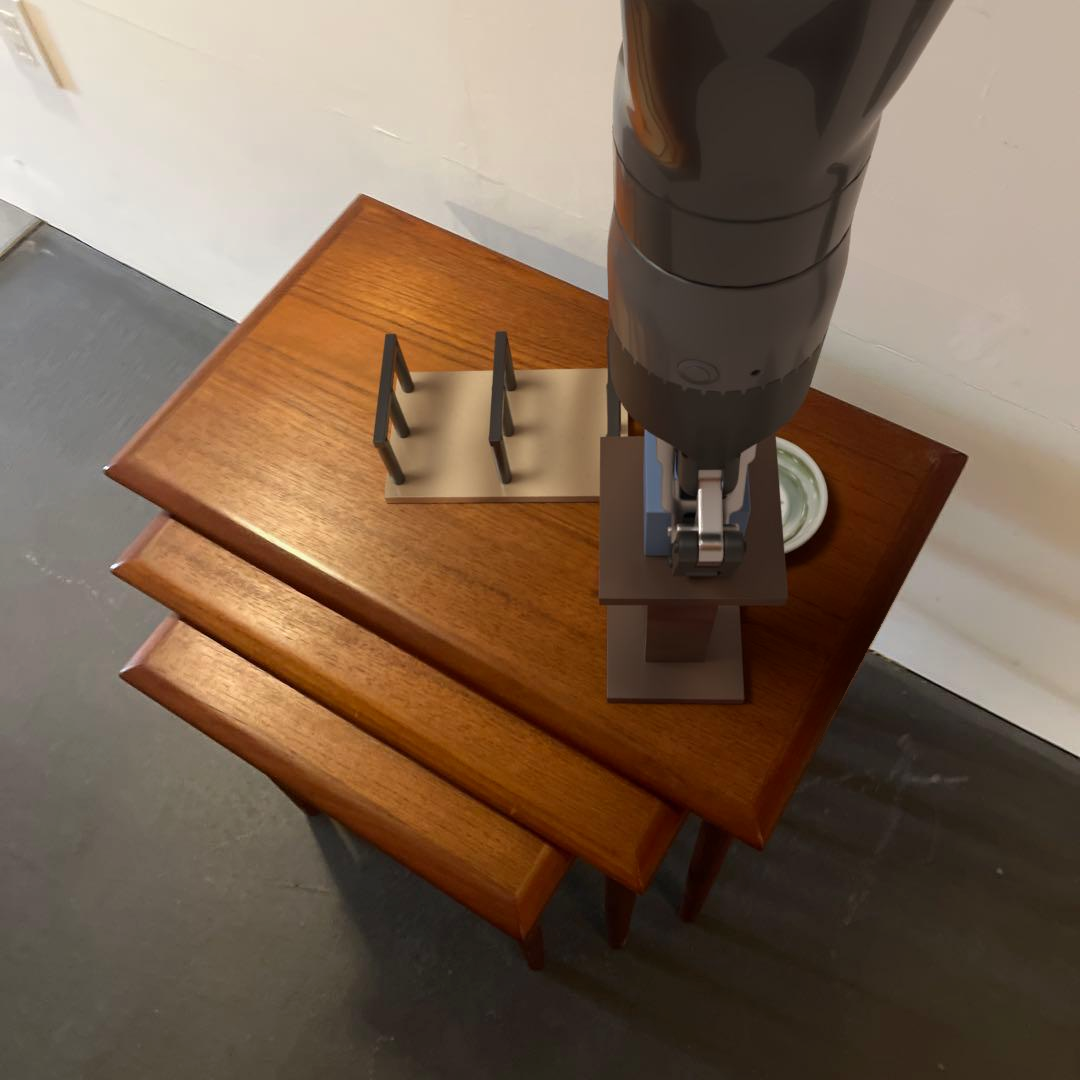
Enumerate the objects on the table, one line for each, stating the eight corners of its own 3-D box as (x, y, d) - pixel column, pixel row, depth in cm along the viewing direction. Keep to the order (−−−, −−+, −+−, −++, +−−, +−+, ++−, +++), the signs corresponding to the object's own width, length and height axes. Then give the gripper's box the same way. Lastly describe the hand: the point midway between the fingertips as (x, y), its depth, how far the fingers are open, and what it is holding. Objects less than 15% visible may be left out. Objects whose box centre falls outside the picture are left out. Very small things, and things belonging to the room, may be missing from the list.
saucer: (793, 434, 72) (798, 416, 70) (843, 548, 68) (850, 533, 66) (668, 468, 72) (669, 452, 70) (711, 585, 68) (714, 572, 66)
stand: (736, 578, 68) (775, 434, 50) (742, 704, 64) (788, 598, 46) (607, 578, 69) (600, 436, 51) (606, 702, 65) (598, 598, 47)
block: (734, 472, 49) (745, 421, 45) (739, 556, 47) (751, 511, 43) (643, 473, 50) (644, 422, 45) (644, 556, 48) (645, 512, 43)
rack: (627, 374, 76) (627, 316, 69) (628, 501, 71) (628, 452, 64) (400, 378, 77) (378, 322, 70) (386, 503, 73) (362, 455, 66)
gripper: (855, 480, 29) (776, 650, 45) (816, 128, 35) (758, 387, 51) (606, 482, 30) (614, 649, 46) (608, 137, 36) (614, 389, 51)
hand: (690, 510), depth 48 cm, fingers closed on block, 4 cm apart
